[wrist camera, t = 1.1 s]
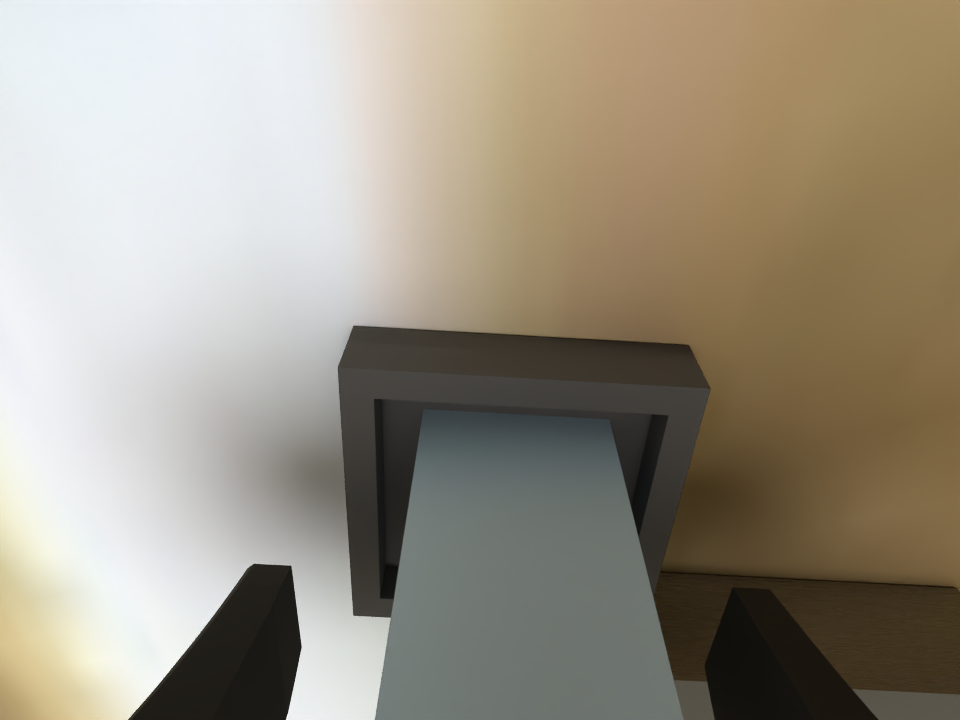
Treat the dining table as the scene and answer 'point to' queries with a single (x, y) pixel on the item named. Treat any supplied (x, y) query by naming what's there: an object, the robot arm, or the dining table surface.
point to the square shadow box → (510, 390)
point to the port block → (830, 639)
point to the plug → (522, 579)
